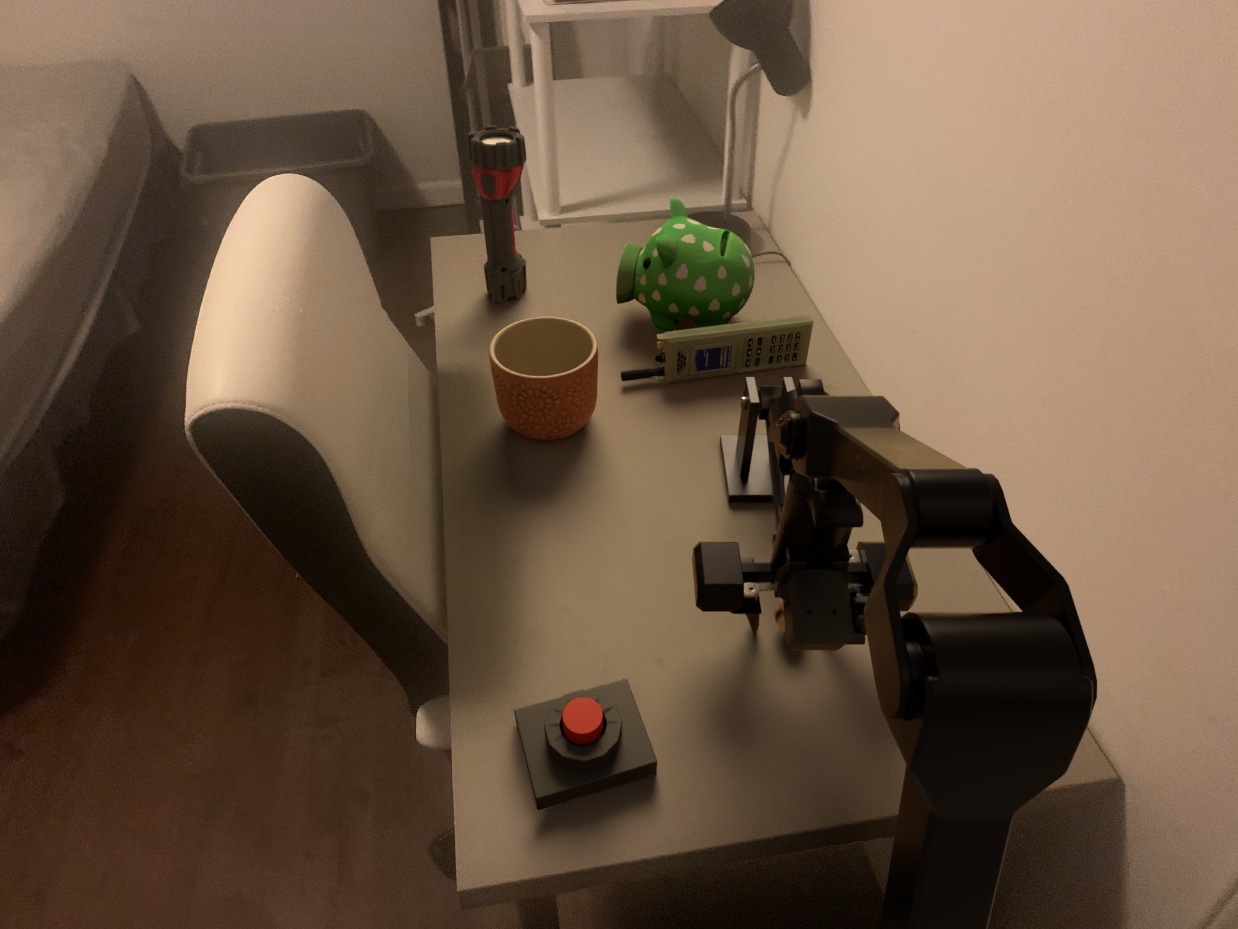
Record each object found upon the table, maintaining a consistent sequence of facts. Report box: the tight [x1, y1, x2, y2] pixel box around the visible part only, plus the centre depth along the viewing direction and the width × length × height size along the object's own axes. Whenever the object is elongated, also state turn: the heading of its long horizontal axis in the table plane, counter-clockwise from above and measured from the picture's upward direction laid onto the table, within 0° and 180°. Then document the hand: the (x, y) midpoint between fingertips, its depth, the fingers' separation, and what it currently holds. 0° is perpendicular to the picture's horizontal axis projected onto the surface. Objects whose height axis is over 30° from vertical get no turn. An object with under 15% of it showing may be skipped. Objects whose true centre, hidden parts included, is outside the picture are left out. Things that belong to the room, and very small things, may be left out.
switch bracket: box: [719, 376, 796, 504], centre depth 88 cm, size 10×8×12 cm
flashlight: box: [467, 124, 528, 304], centre depth 113 cm, size 8×8×23 cm
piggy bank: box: [615, 197, 756, 333], centre depth 110 cm, size 14×18×15 cm
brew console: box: [513, 678, 658, 812], centre depth 66 cm, size 10×8×4 cm
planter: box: [488, 316, 599, 441], centre depth 95 cm, size 12×12×11 cm
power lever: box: [757, 385, 785, 633], centre depth 80 cm, size 26×3×3 cm, turn 0°
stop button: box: [562, 697, 603, 745], centre depth 64 cm, size 3×3×2 cm
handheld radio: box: [620, 314, 814, 384], centre depth 103 cm, size 7×3×25 cm
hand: (787, 628), depth 76 cm, fingers open, 6 cm apart
